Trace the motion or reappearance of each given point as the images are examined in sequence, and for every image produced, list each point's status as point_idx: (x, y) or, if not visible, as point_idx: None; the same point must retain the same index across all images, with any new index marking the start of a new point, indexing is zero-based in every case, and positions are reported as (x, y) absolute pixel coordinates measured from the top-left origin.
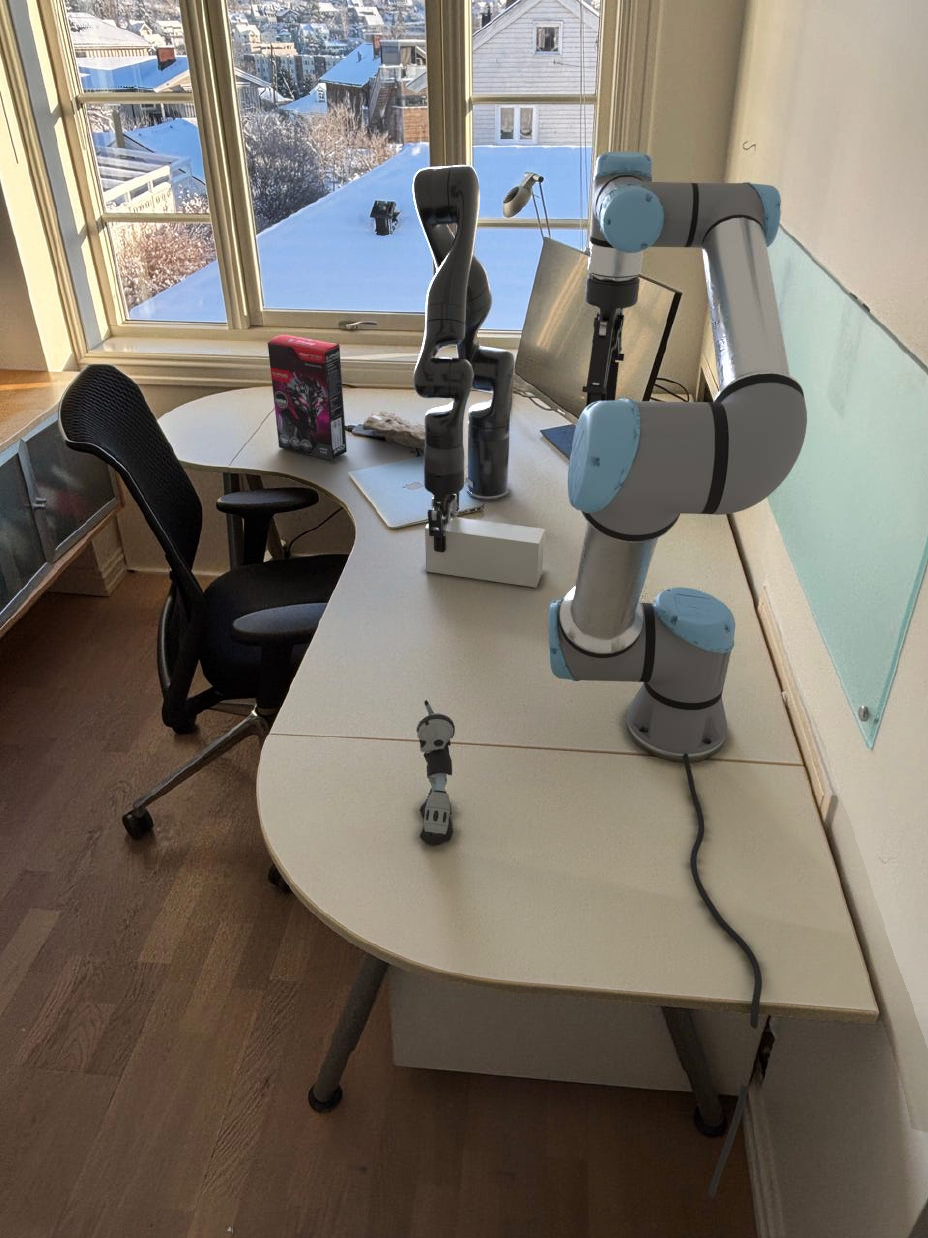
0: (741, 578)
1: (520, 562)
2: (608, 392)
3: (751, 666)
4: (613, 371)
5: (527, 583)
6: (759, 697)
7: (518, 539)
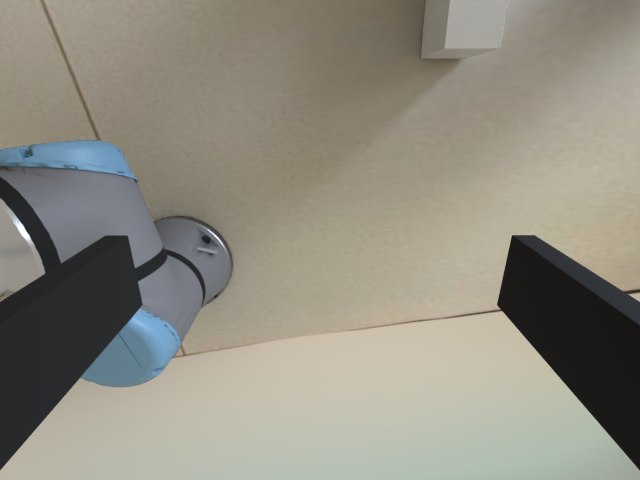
0: (483, 307)
1: (435, 20)
2: (529, 305)
3: (312, 319)
4: (611, 407)
5: (422, 42)
6: (264, 325)
7: (454, 3)
